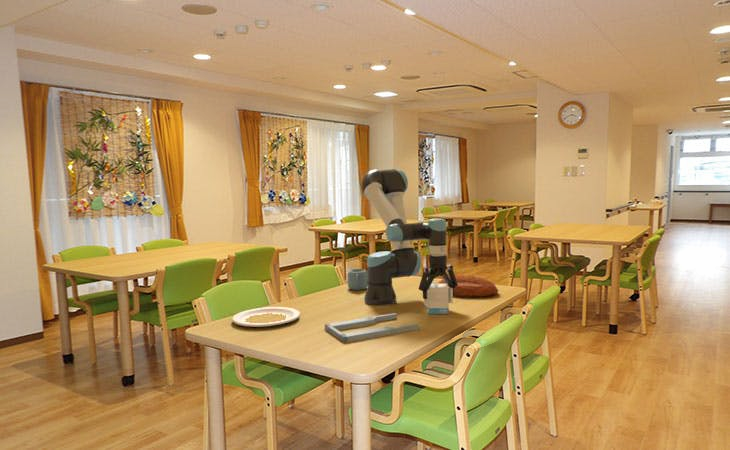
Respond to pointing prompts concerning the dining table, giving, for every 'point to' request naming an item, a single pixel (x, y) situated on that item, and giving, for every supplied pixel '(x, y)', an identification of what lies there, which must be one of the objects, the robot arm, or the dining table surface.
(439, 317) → the dining table surface
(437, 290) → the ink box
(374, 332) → the dock
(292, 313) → the plate
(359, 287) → the mug
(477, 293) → the bread
